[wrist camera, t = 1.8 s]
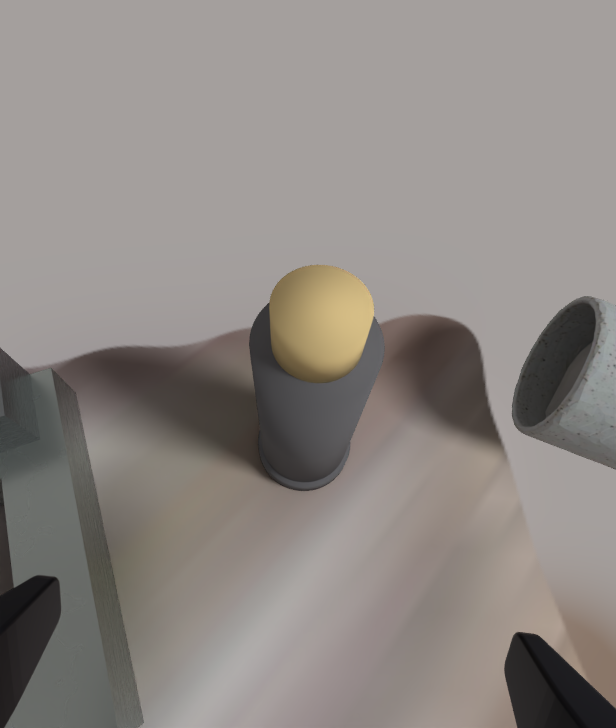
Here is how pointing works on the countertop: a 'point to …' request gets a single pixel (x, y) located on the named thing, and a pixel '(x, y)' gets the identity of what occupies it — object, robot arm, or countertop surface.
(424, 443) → the countertop surface
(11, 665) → the robot arm
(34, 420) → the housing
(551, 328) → the ceramic mug
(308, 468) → the plug
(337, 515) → the countertop surface
